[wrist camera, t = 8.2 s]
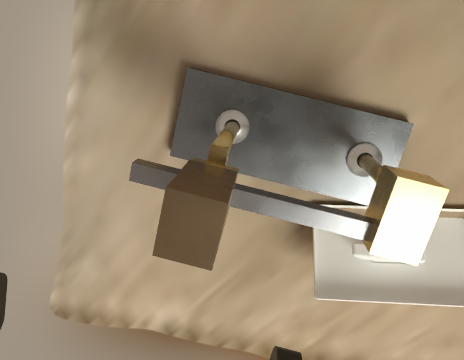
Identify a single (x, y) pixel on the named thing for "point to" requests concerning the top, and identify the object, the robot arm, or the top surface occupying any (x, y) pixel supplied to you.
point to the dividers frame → (342, 222)
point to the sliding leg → (198, 206)
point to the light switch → (391, 268)
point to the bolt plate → (287, 135)
